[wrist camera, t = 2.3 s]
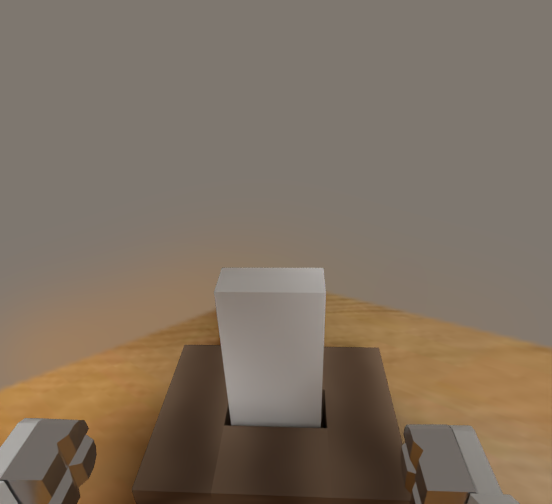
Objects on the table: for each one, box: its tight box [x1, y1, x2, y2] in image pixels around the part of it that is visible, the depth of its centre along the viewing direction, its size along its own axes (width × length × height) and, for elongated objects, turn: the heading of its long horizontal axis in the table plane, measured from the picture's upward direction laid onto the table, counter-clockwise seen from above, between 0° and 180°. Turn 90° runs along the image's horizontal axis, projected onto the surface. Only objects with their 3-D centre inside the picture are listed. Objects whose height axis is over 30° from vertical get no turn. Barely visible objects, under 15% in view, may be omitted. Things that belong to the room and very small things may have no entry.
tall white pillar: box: [214, 268, 326, 428], centre depth 26 cm, size 6×2×14 cm, turn 87°
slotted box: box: [132, 345, 411, 504], centre depth 29 cm, size 16×12×4 cm
